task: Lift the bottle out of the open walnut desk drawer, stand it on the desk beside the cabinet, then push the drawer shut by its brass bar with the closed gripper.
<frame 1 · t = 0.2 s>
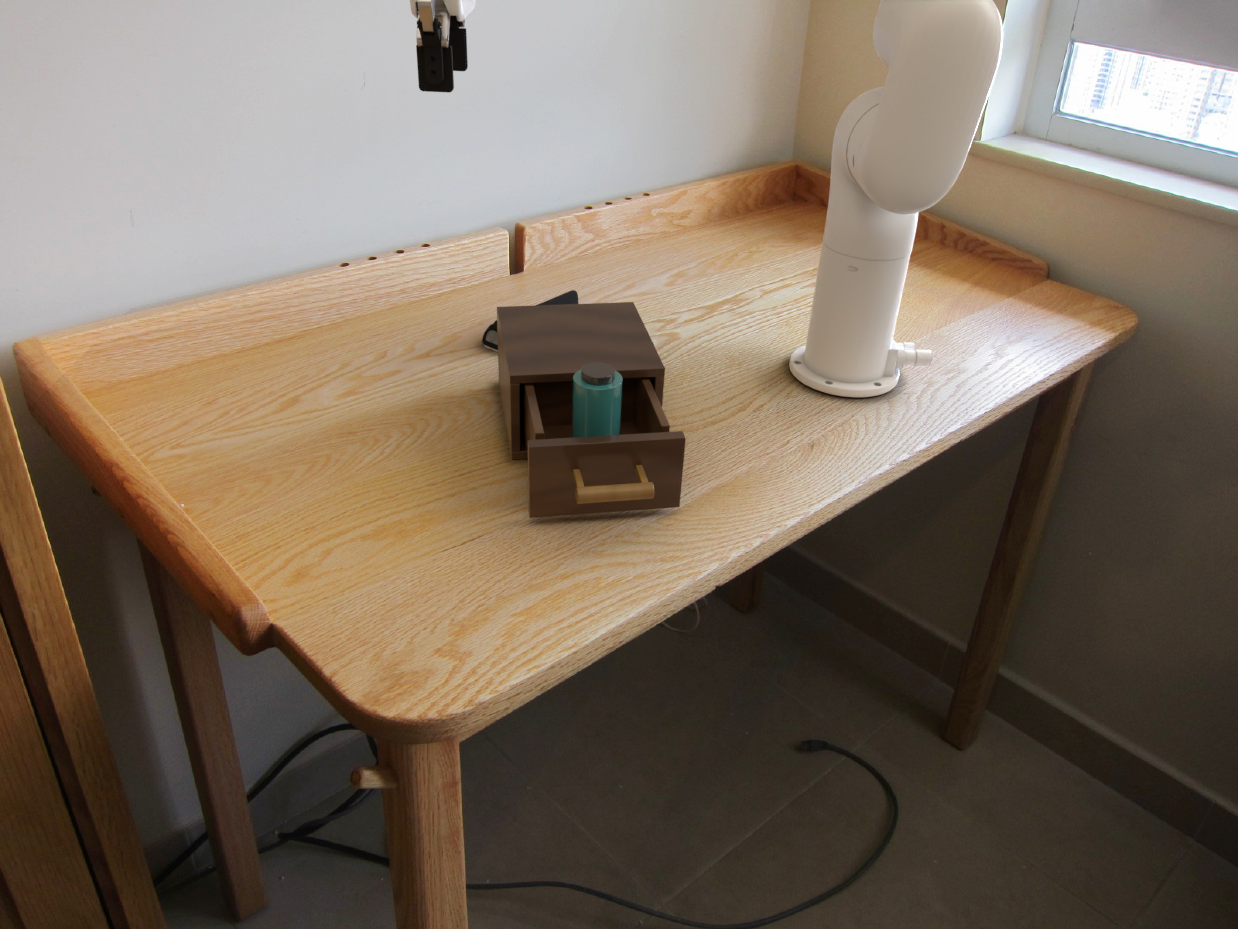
hand: (444, 80, 96), 31 cm above the table, tool pointing down, fingers open, 9 cm apart
bottle: (594, 464, 92), point 2 cm above the table, touching drawer
drawer: (597, 447, 90), point 5 cm above the table, slide at 10.0 cm, touching bottle
cabinet: (574, 415, 104), on the table
electric trimmer: (531, 331, 121), on the table
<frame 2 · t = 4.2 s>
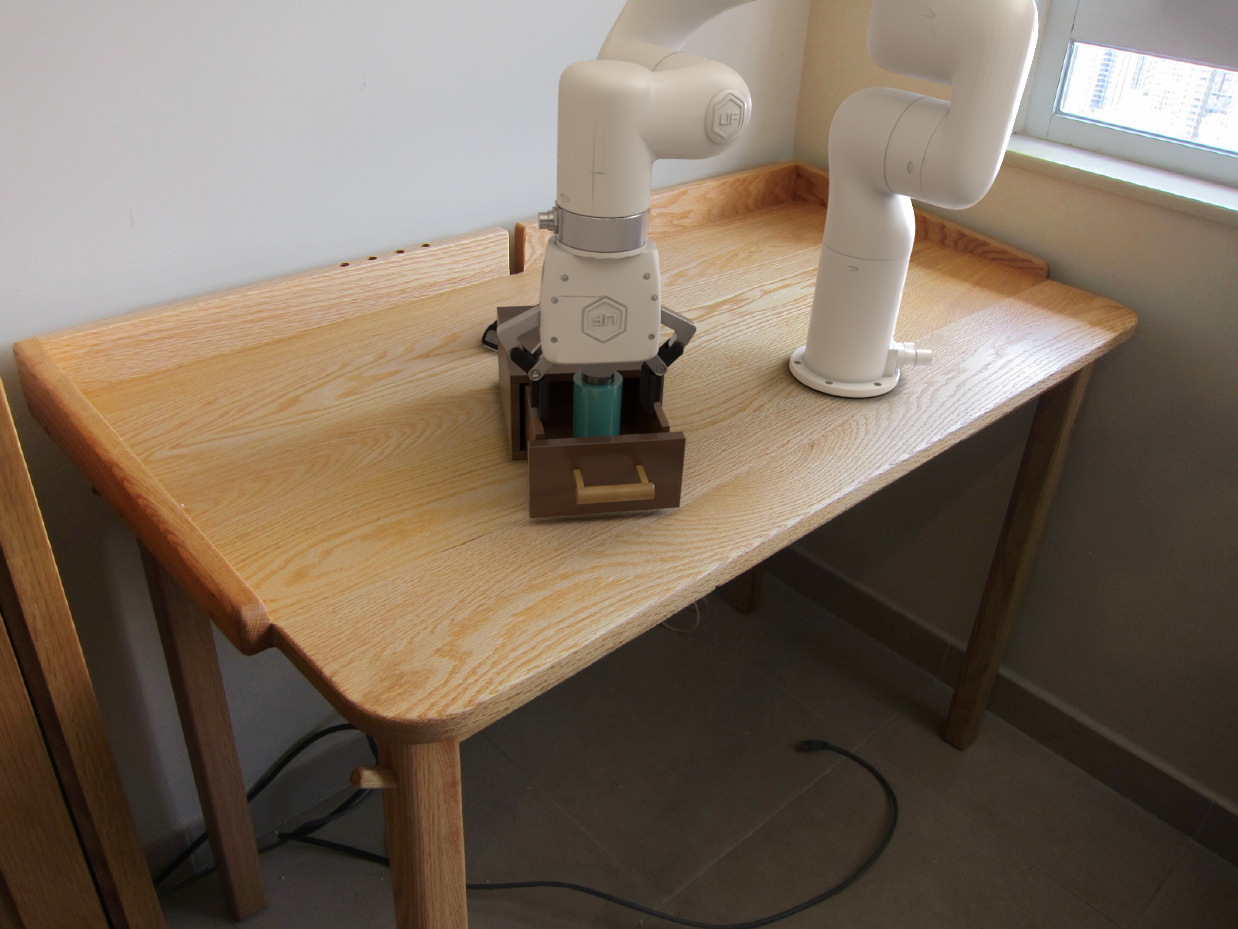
hand: (594, 410, 89), 8 cm above the table, tool pointing down, fingers open, 9 cm apart
drawer: (597, 447, 90), point 5 cm above the table, slide at 10.1 cm, touching gripper, bottle
everything else where it was.
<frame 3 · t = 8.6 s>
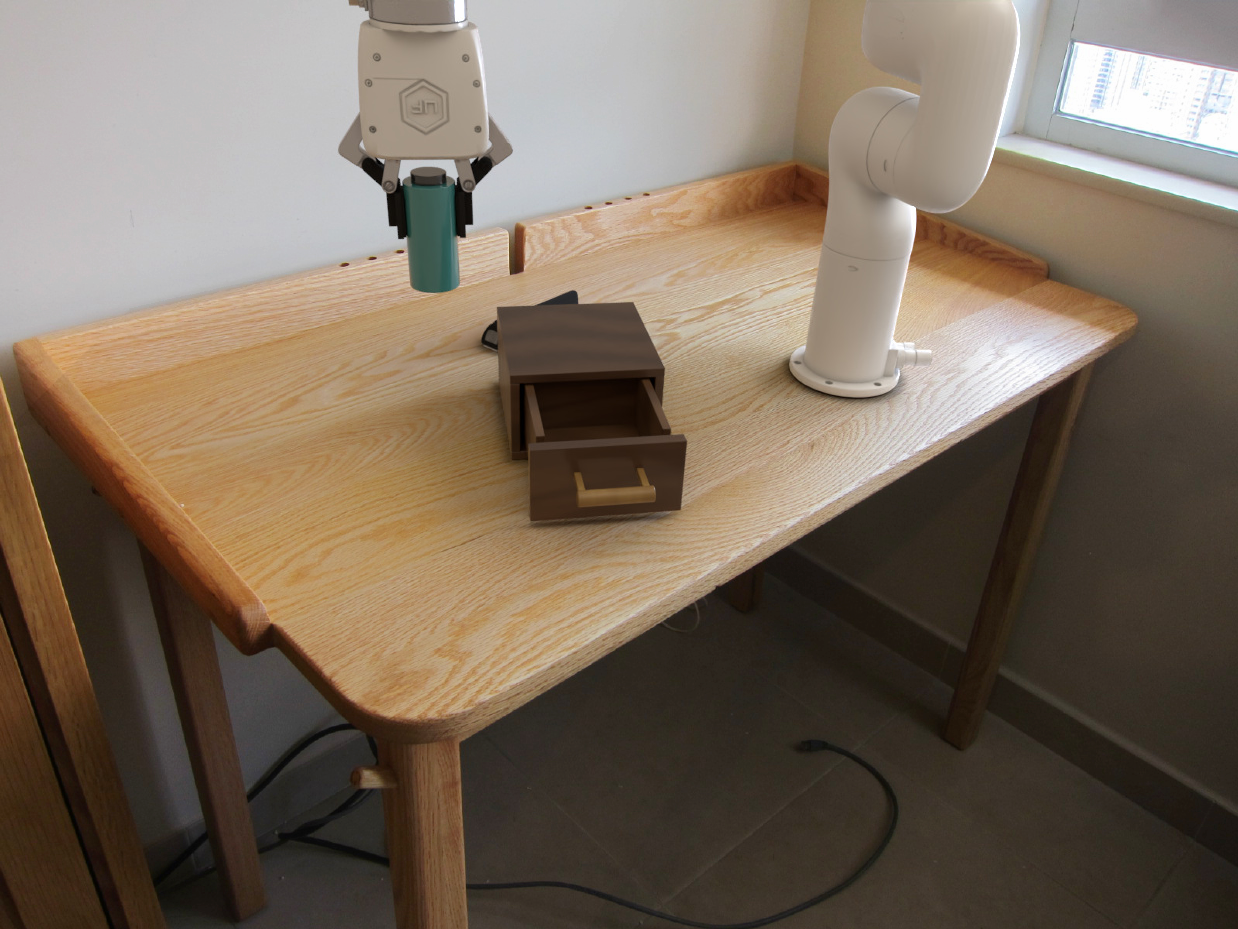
hand: (431, 231, 85), 22 cm above the table, tool pointing down, fingers closed on bottle, 4 cm apart
bottle: (435, 283, 88), point 18 cm above the table, touching gripper
drawer: (598, 450, 89), point 5 cm above the table, slide at 10.5 cm
everything else where it was.
when the fingers open (5 cm above the table, at t = 12.7 s): bottle stays where it is, on the table.
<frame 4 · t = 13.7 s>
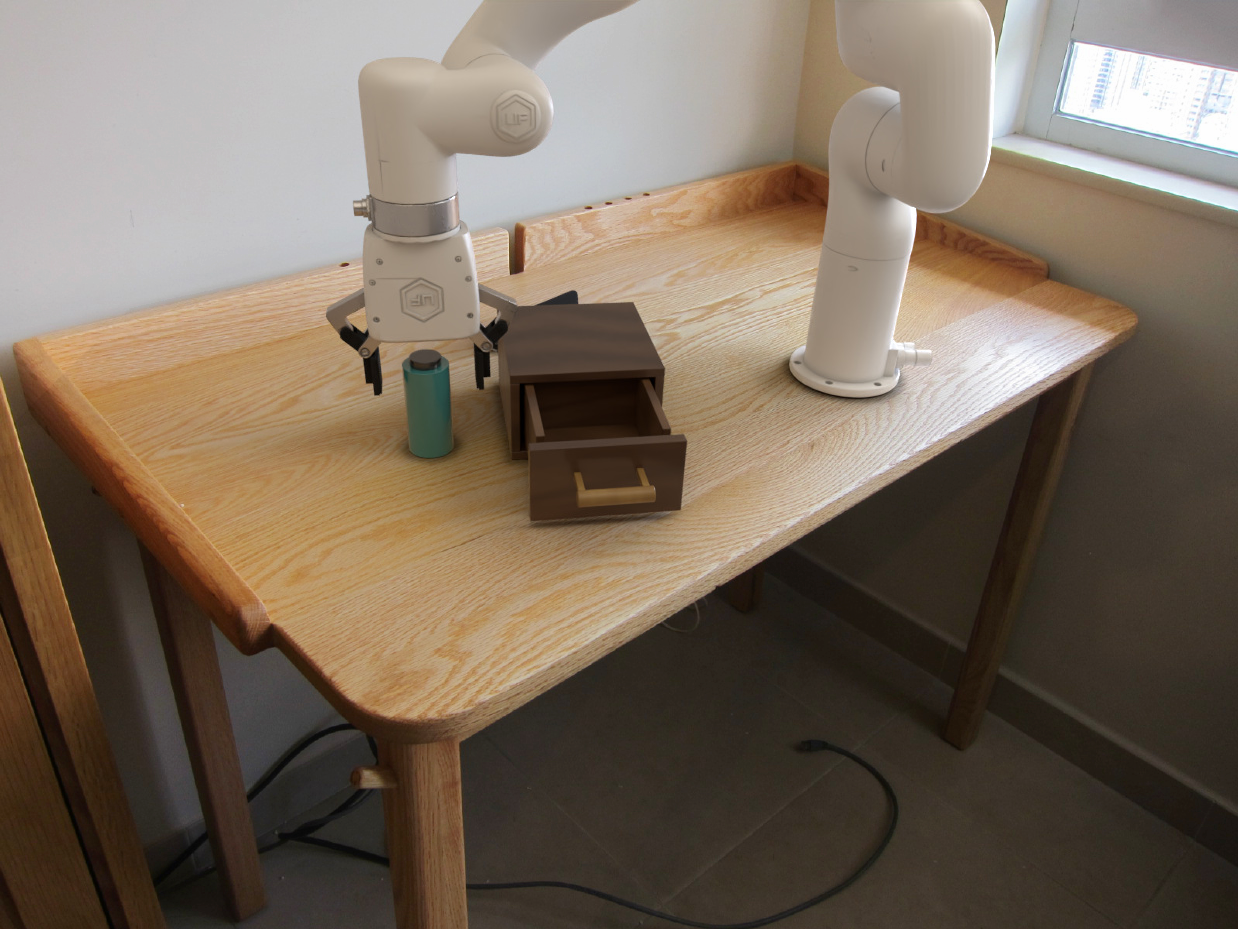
hand: (429, 386, 94), 6 cm above the table, tool pointing down, fingers open, 9 cm apart
bottle: (431, 446, 97), on the table
everything else where it was.
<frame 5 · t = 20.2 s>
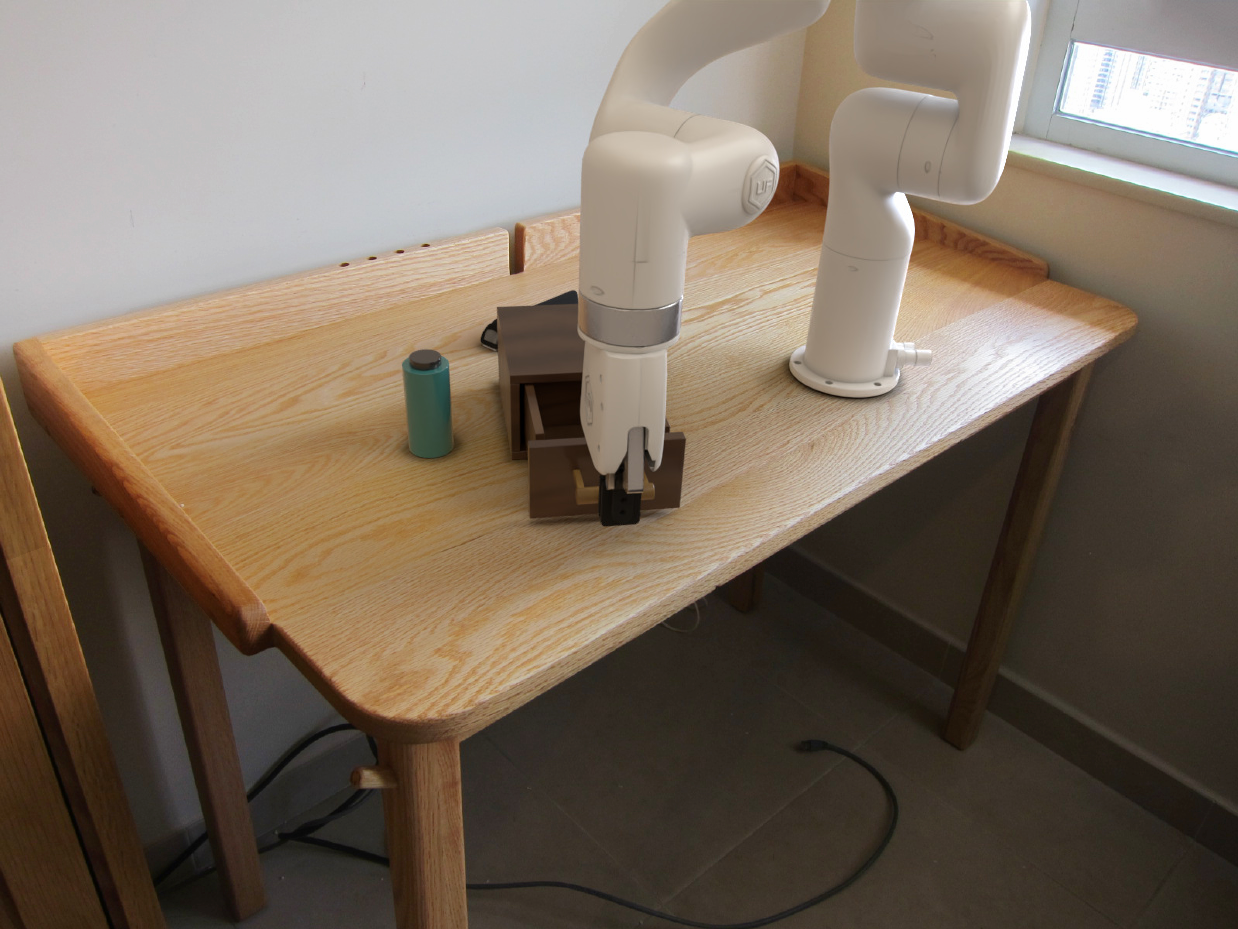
hand: (618, 519, 81), 5 cm above the table, tool pointing down, fingers closed
drawer: (597, 448, 90), point 5 cm above the table, slide at 10.1 cm
everything else where it was.
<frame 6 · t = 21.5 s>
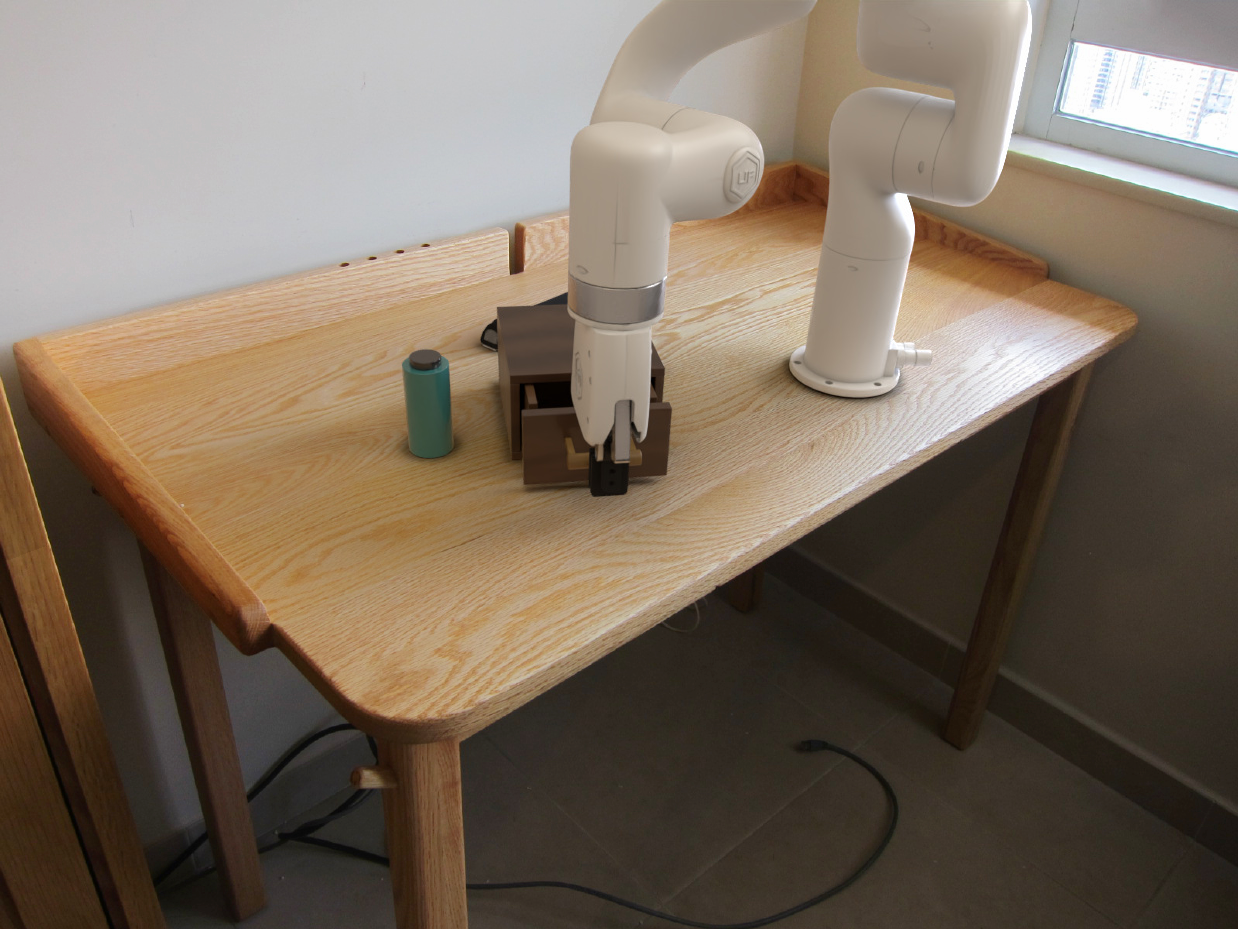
hand: (607, 490, 85), 4 cm above the table, tool pointing down, fingers closed
drawer: (588, 418, 94), point 5 cm above the table, slide at 4.8 cm, touching gripper
everything else where it was.
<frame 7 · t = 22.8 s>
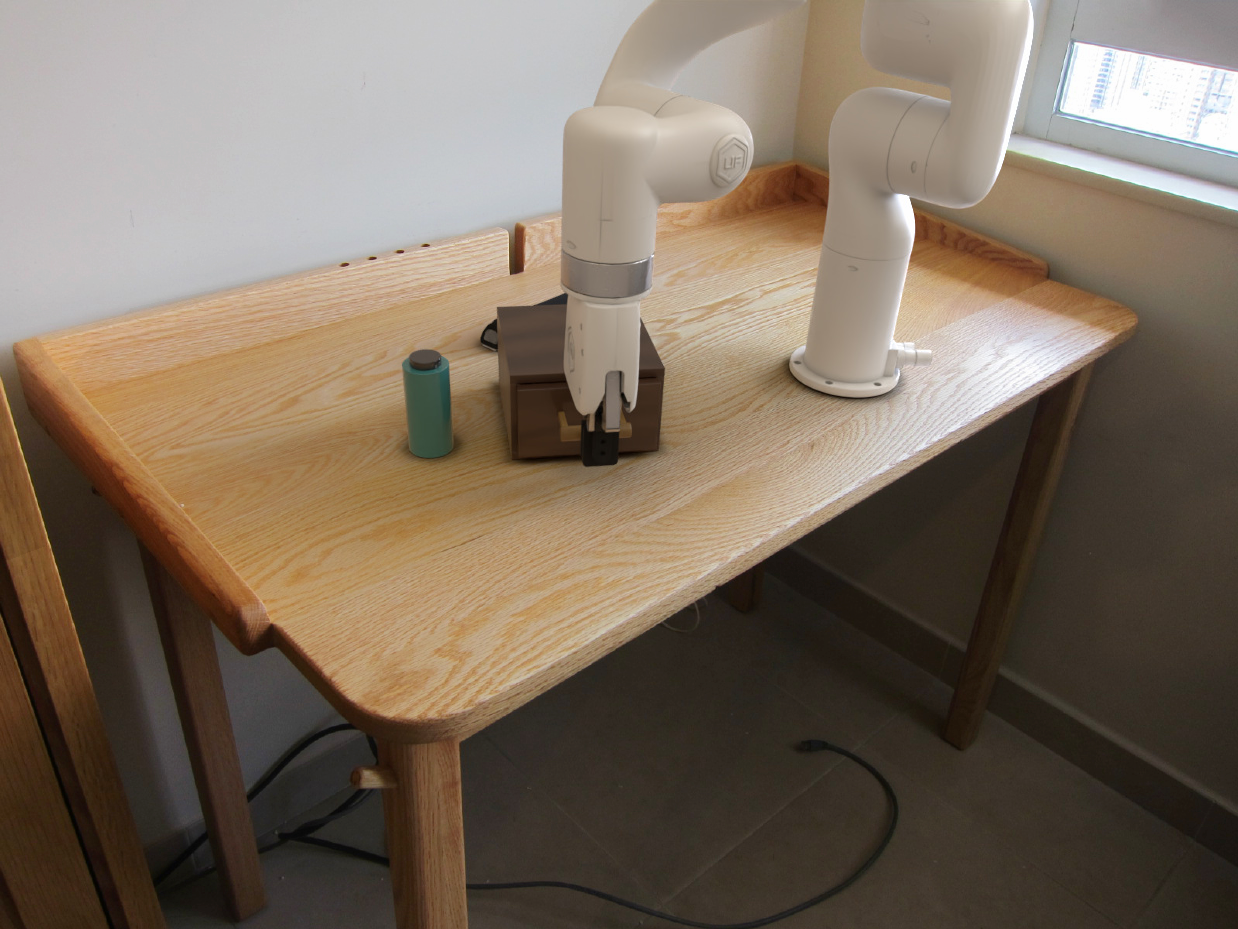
hand: (598, 461, 89), 4 cm above the table, tool pointing down, fingers closed
drawer: (581, 395, 98), point 5 cm above the table, slide at 0.0 cm, touching cabinet, gripper
everything else where it was.
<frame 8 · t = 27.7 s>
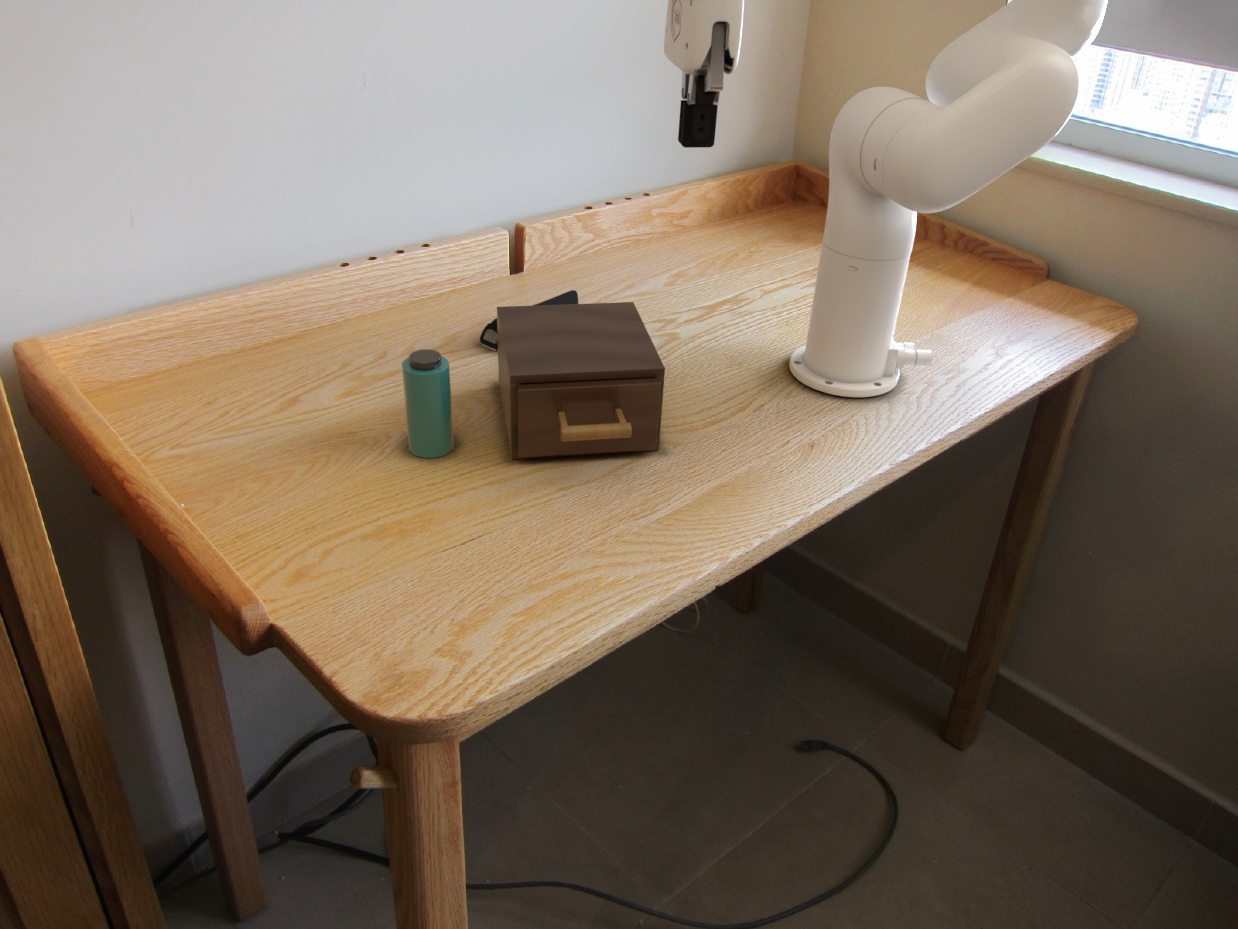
hand: (695, 144, 94), 27 cm above the table, tool pointing down, fingers closed
drawer: (581, 395, 98), point 5 cm above the table, slide at 0.0 cm, touching cabinet
everything else where it was.
at the end: bottle 0.6 cm from the target spot, on the table; bottle tilted 0°; drawer slide at 0.0 cm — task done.
